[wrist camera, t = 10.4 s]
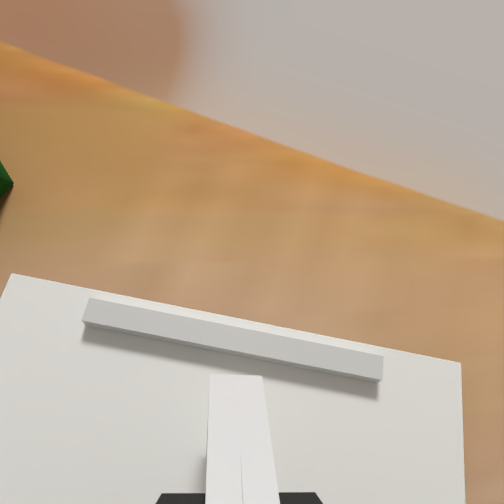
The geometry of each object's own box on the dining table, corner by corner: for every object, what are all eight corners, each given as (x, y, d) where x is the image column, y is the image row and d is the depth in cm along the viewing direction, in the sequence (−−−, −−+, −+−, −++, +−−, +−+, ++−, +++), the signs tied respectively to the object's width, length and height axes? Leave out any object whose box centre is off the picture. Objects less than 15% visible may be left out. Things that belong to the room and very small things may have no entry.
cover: (-74, 497, 14) (-101, 499, 13) (19, 281, 17) (5, 266, 16) (454, 596, 14) (479, 608, 13) (449, 367, 17) (469, 358, 16)
